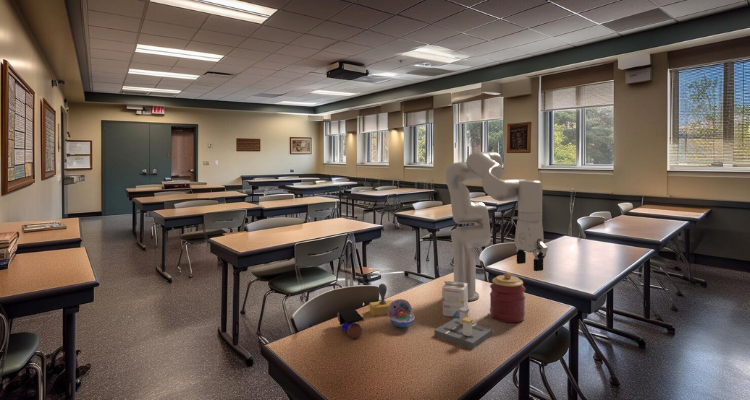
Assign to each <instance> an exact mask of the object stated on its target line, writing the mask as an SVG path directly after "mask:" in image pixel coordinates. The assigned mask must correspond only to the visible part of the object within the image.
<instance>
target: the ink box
mask: <svg viewBox="0 0 750 400" xmlns="http://www.w3.org/2000/svg"><path fill="white" fill-rule="evenodd" d="M441 289H442V290H441V291H442V295H441V296H442V316H446V317H453V318H458V319H460V312H459V309H460V308H462V307H464V308H467V309H469V301H468V283H460V282H454V281H449V280H448V281H446V280H445V281H444V284H443V286H442V288H441Z"/></svg>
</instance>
